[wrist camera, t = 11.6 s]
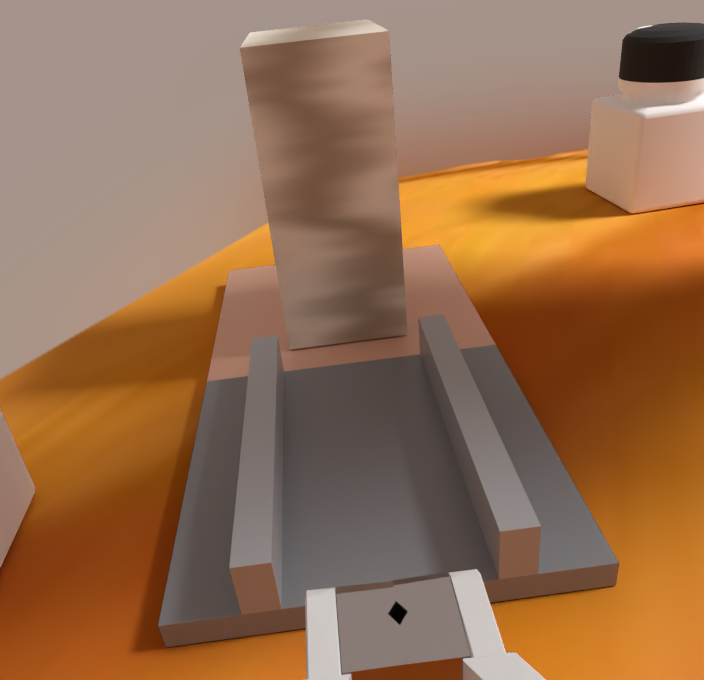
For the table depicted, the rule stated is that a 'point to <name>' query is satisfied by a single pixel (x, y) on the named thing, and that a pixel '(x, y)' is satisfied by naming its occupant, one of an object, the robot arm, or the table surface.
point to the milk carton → (12, 488)
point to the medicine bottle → (652, 122)
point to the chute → (366, 467)
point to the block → (330, 178)
